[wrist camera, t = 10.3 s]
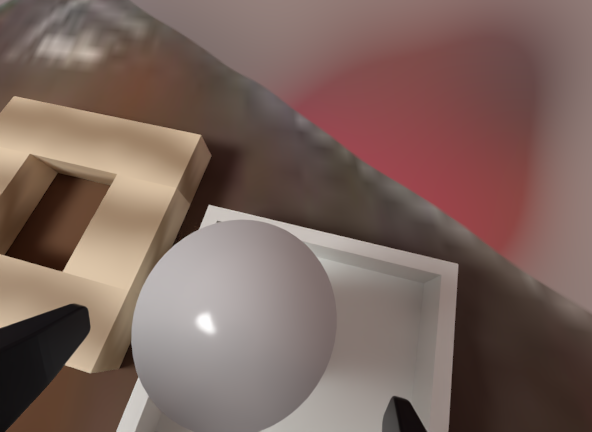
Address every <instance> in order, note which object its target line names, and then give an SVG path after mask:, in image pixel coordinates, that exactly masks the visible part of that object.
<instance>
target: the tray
mask: <svg viewBox="0 0 592 432" xmlns="http://www.w3.org/2000/svg"><path fill="white" fill-rule="evenodd" d="M229 220H255V221H261V222H266V223H269V224H272V225H275V226H278V227H280V228H282V229H284V230H286V231H288V232H290V233H291V234H293V235H294V236H296V237H297V238H299V239H300V240H301V241H302V242H303V243H305V244H306V245H307V246H308V247H309V248H310V250H311V251H312V252H313V253H314V254H315V255H316V257H317V258H318V260H319V261H320V262H321V264H322V266H323V268H324V269H325V271H326V273H327V275H328V278H329V280H330V283H331V286H332V289H333V293H334V297H335V303H336V311H337V329H336V336H335V343H334V347H333V351H332V354H331V358H330V360H329V363H328V365H327V368H326V370H325V372H324V374H323V376H322V378H321V379H320V381H319V383H318V385H317V386H316V387H315V389H314V390H313V392H312V393H311V394H310V396H309V397H308V398H307V399H306V400H305V401H304V402H303V403H302V404H301V405H300V406H299V407H298V408H297V409H296V410H295V411H294V412H292V413H291V414H290V415H289V416H287V417H286V418H285V419H283V420H281V421H280V422H278V423H276V424H275V425H273V426H271V427H269V428H266V429H264V430H261V431H259V432H382V421H383V416H384V413H385V411H386V408H387V406H388V404H389V401H390V399H391V397H392V396H398V397H401V398H405V399H407V400H409V402H410V403H411V404H412V406H413V408H414V410H415V411H416V413H417V415H418V416H419V418H420V420H421V422H422V423H423V425H424V427H425V429H426V430H427V432H448V430H449V413H450V397H451V380H452V363H453V346H454V330H455V313H456V296H457V279H458V264H456V263H452V262H448V261H444V260H439V259H435V258H431V257H427V256H423V255H418V254H414V253H410V252H406V251H402V250H397V249H393V248H389V247H385V246H380V245H376V244H372V243H368V242H364V241H359V240H355V239H351V238H347V237H343V236H338V235H334V234H330V233H326V232H321V231H317V230H313V229H309V228H305V227H300V226H296V225H292V224H288V223H284V222H279V221H275V220H271V219H267V218H263V217H258V216H254V215H250V214H246V213H241V212H237V211H233V210H229V209H225V208H220V207H216V206H212V205H209V206H208V209H207V211H206V213H205V216H204V218H203V221H202V223H201V226H200V228H199V229H201V228H204V227H206V226H209V225H212V224H215V223H219V222H224V221H229ZM116 432H193V431H191V430H189V429H186V428H184V427H182V426H180V425H179V424H177V423H176V422H174V421H173V420H171V419H169V418H168V417H167V416H166V415H165V414H164V413H163V412H162V411H161V410H159V409H158V407H157V406H156V405H155V404H154V402H153V401H152V400H151V399H150V398H149V396H148V394H147V392H146V391H145V389H144V387H143V386H142V384H141V381H140V379H139V377H138V380H137V382H136V385H135V387H134V390H133V392H132V394H131V397H130V399H129V402H128V404H127V407H126V409H125V412H124V414H123V416H122V419H121V421H120V424H119V426H118V429H117V431H116Z"/></svg>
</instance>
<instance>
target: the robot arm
mask: <svg viewBox="0 0 592 432" xmlns="http://www.w3.org/2000/svg"><path fill="white" fill-rule="evenodd" d="M90 328H91V325H90V318H89V311H88V308H87V307H86V306H83V305H79V304H76V303H72V304H69V305H66V306H63V307H60V308H57V309H54V310H51V311H48V312H45V313H42V314H40V315H37V316H34V317H31V318H28V319H25V320H22V321H19V322H16V323H14V324H11V325H8V326H5V327H2V328H0V432H5V431H6V430H7V429H8V428H9V427H10V426H11V425H12V424H13V423H14V422H15V420H16V419H17V418H18V417H19V416H20V415H21V414H22V413H23V412H24V411H25V410H26V409H27V408H28V407H29V405H30V404H31V403H32V402H33V401H34V400H35V399H36V398H37V397H38V396H39V395H40V394H41V392H42V391H43V390H44V389H45V388H46V387H47V386H48V385H49V383H50V382H51V381H52V380H53V379H54V377H55V376H56V375H57V374H58V372H59V371H60V370H61V369H62V367H63V366H64V365H65V364H66V362H67V361H68V360H69V359H70V357H71V356H72V355H73V353H74V352H75V351H76V350H77V348H78V347H79V346H80V345H81V343H82V342H83V341H84V340H85V338H86V337H87V336H88V334H89V332H90ZM382 432H427V430H426V429H425V427H424V425H423V423H422V422H421V420H420V418H419V416H418V415H417V413H416V411H415V410H414V408H413V406H412V404H411V403H410V402H409V400H407V399H405V398H401V397H398V396H392V397H391V399H390V401H389V404H388V406H387V408H386V411H385V413H384V416H383V421H382Z"/></svg>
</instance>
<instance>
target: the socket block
mask: <svg viewBox="0 0 592 432" xmlns="http://www.w3.org/2000/svg"><path fill="white" fill-rule="evenodd" d="M210 158H211V154H210V152H209V150H208V148H207V146H206V144H205V142H204V140H203V138H202V136H201V135H198V134H193V133H189V132H184V131H179V130H174V129H169V128H165V127H160V126H155V125H150V124H145V123H141V122H136V121H131V120H126V119H121V118H117V117H112V116H107V115H102V114H97V113H93V112H88V111H83V110H78V109H73V108H69V107H64V106H59V105H54V104H49V103H45V102H40V101H35V100H30V99H25V98H21V97H16V96H14V97H13V98H12V99H11V101H10V102H9V103H8V104H7V106H6V107H5V108H4V109H3V111H2V112H1V113H0V328H2V327H5V326H8V325H11V324H14V323H16V322H19V321H22V320H25V319H28V318H31V317H34V316H37V315H40V314H42V313H45V312H48V311H51V310H54V309H57V308H60V307H63V306H66V305H69V304H72V303H76V304H79V305H83V306H86V307H87V308H88V311H89V318H90V325H91V328H90V332H89V334H88V336H87V337H86V338H85V340H84V341H83V342H82V343H81V345H80V346H79V347H78V348H77V350H76V351H75V352H74V353H73V355H72V356H71V357H70V359H69V360H68V361H67V362H66V364H65V365H67V366H70V367H73V368H76V369H79V370H82V371H85V372H88V373H96V372H103V371H109V370H116V369H119V368H120V365H121V363H122V361H123V358H124V356H125V354H126V352H127V349H128V347H129V345H130V342H131V331H132V322H133V314H134V311H135V307H136V303H137V300H138V297H139V294H140V292H141V289H142V287H143V285H144V283H145V281H146V279H147V277H148V276H149V274H150V273H151V271H152V270H153V268H154V267H155V265H156V264H157V263H158V262H159V260H160V259H161V258H162V257H163V256H164V254H166V253H167V252H168V251H169V250H170V249H171V248H172V246H173V243H174V241H175V239H176V237H177V234H178V232H179V230H180V227H181V225H182V223H183V220H184V218H185V216H186V214H187V211H188V209H189V207H190V204H191V202H192V200H193V197H194V195H195V193H196V191H197V188H198V186H199V184H200V181H201V179H202V177H203V174H204V172H205V170H206V168H207V165H208V163H209V161H210ZM57 173H61V174H65V175H69V176H73V177H77V178H82V179H86V180H90V181H94V182H98V183H103V184H107V185H111V186H110V188H109V190H108V192H107V193H106V195H105V197H104V199H103V200H102V202H101V204H100V206H99V208H98V209H97V211H96V213H95V215H94V217H93V218H92V220H91V222H90V224H89V226H88V227H87V229H86V231H85V233H84V234H83V236H82V238H81V240H80V242H79V243H78V245H77V247H76V249H75V251H74V252H73V254H72V256H71V258H70V259H69V261H68V263H67V265H66V267H65V268H64V270H63V272H61V271H58V270H54V269H51V268H47V267H43V266H40V265H36V264H33V263H29V262H26V261H22V260H19V259H15V258H12V257H8V256H5V254H6V252H7V251H8V249H9V248H10V246H11V245H12V243H13V242H14V240H15V238H16V237H17V235H18V234H19V232H20V231H21V229H22V228H23V226H24V224H25V223H26V221H27V220H28V218H29V217H30V215H31V214H32V212H33V211H34V209H35V207H36V206H37V204H38V203H39V201H40V200H41V198H42V197H43V195H44V194H45V192H46V190H47V189H48V187H49V186H50V184H51V183H52V181H53V180H54V178H55V177H56V175H57Z"/></svg>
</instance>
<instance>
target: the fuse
mask: <svg viewBox="0 0 592 432" xmlns="http://www.w3.org/2000/svg"><path fill="white" fill-rule="evenodd" d="M336 329H337V311H336V303H335V297H334V293H333V289H332V286H331V283H330V280H329V278H328V275H327V273H326V271H325V269H324V268H323V266H322V264H321V262H320V261H319V260H318V258H317V257H316V255H315V254H314V253H313V252H312V251H311V250H310V248H309V247H308V246H307V245H306V244H305V243H303V242H302V241H301V240H300V239H299V238H297V237H296V236H294V235H293V234H291V233H290V232H288V231H286V230H284V229H282V228H280V227H278V226H275V225H272V224H269V223H266V222H261V221H255V220H229V221H224V222H219V223H215V224H212V225H209V226H206V227H204V228H201V229H199V230H197V231H195V232H193V233H191V234H190V235H188V236H186V237H185V238H183V239H182V240H181V241H179V242H178V243H177V244H175V245H174V246H173V247H172V248H171V249H170V250H169V251H168V252H167V253H166V254H164V256H163V257H162V258H161V259H160V260H159V262H158V263H157V264H156V265H155V267H154V268H153V270H152V271H151V273H150V274H149V276H148V277H147V279H146V281H145V283H144V285H143V287H142V289H141V292H140V294H139V297H138V300H137V303H136V307H135V311H134V314H133V322H132V331H131V344H132V353H133V359H134V363H135V367H136V371H137V374H138V376H139V379H140V381H141V384H142V386H143V387H144V389H145V391H146V392H147V394H148V396H149V398H150V399H151V400H152V401H153V402H154V404H155V405H156V406H157V407H158V409H159V410H161V411H162V412H163V413H164V414H165V415H166V416H167V417H168V418H169V419H171V420H173V421H174V422H176V423H177V424H179V425H180V426H182V427H184V428H186V429H189V430H191V431H193V432H259V431H261V430H264V429H266V428H269V427H271V426H273V425H275V424H276V423H278V422H280V421H281V420H283V419H285V418H286V417H287V416H289V415H290V414H291V413H292V412H294V411H295V410H296V409H297V408H298V407H299V406H300V405H301V404H302V403H303V402H304V401H305V400H306V399H307V398H308V397H309V396H310V394H311V393H312V392H313V390H314V389H315V387H316V386H317V385H318V383H319V381H320V379H321V378H322V376H323V374H324V372H325V370H326V368H327V365H328V363H329V360H330V358H331V354H332V351H333V347H334V343H335V336H336Z"/></svg>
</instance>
